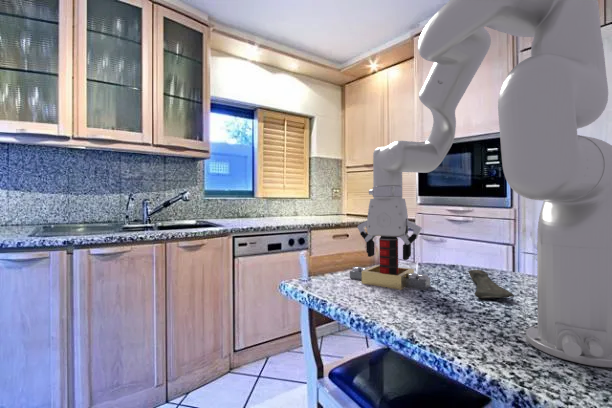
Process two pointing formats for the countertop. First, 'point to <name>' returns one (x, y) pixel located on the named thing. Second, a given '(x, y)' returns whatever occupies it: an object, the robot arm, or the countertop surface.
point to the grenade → (388, 255)
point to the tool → (487, 286)
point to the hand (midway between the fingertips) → (388, 257)
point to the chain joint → (391, 278)
